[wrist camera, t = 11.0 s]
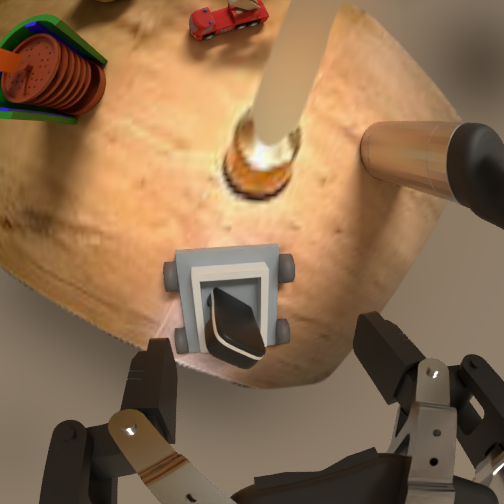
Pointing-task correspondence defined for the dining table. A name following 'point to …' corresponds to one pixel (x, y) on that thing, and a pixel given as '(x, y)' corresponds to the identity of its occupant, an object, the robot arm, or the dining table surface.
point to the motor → (48, 72)
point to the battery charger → (232, 331)
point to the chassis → (229, 288)
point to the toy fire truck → (227, 18)
